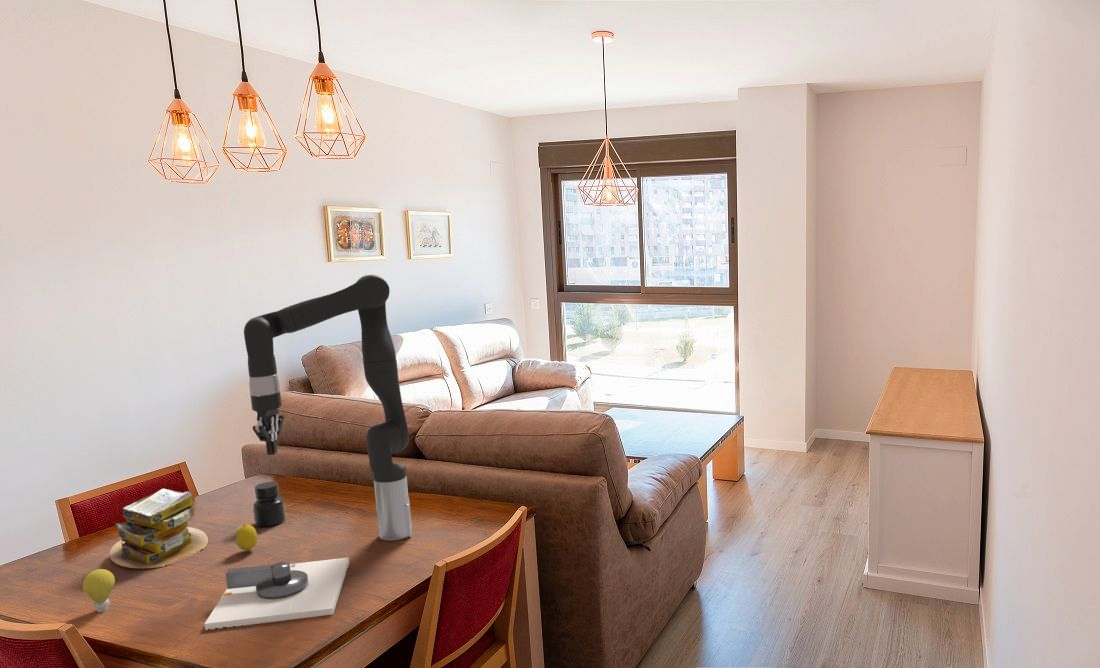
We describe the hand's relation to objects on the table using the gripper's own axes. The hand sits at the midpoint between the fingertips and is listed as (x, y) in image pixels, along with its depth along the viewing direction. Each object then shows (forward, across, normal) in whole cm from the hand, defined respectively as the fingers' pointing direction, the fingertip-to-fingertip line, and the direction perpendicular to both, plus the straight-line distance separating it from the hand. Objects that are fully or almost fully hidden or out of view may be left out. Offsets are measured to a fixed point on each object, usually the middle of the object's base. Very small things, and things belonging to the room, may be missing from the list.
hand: (272, 454), depth 201 cm
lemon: (+29, -3, -12) cm, 32 cm away
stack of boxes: (+29, -3, -39) cm, 49 cm away
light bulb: (+29, +30, -31) cm, 52 cm away
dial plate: (+29, +22, +11) cm, 38 cm away
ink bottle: (+29, -24, -17) cm, 42 cm away
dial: (+27, +23, +8) cm, 36 cm away
